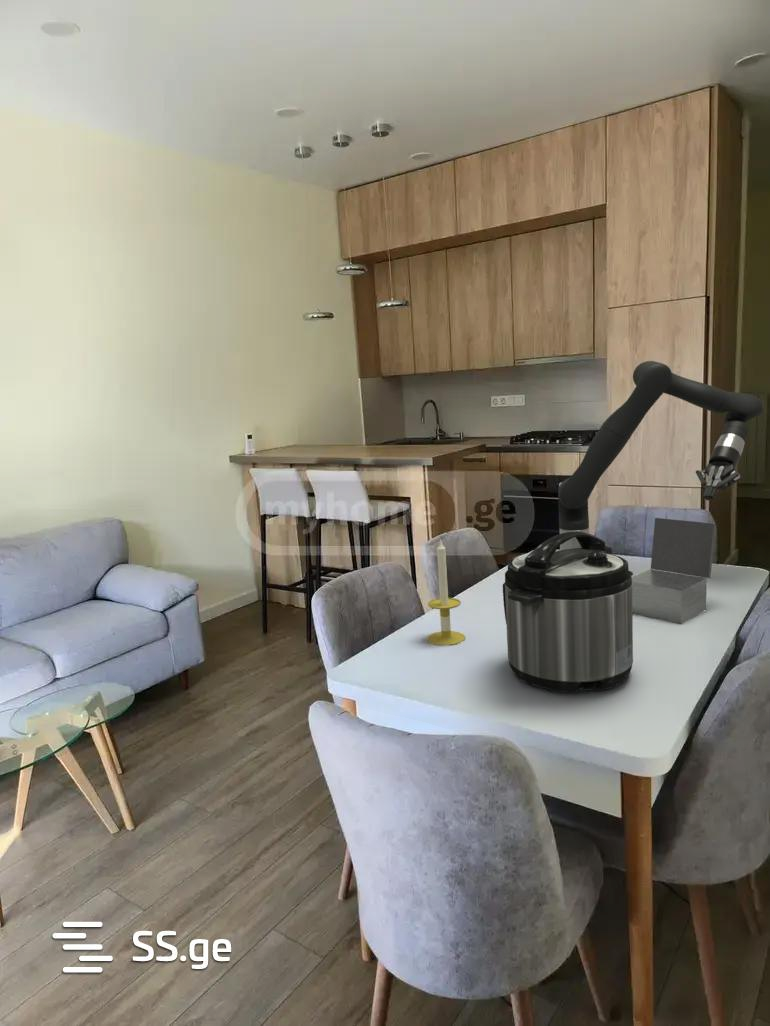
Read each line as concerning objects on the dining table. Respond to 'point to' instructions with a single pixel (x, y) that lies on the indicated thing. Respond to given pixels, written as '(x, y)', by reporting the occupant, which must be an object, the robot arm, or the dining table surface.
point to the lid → (683, 547)
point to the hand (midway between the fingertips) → (707, 498)
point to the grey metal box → (668, 595)
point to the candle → (444, 606)
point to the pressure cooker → (569, 615)
